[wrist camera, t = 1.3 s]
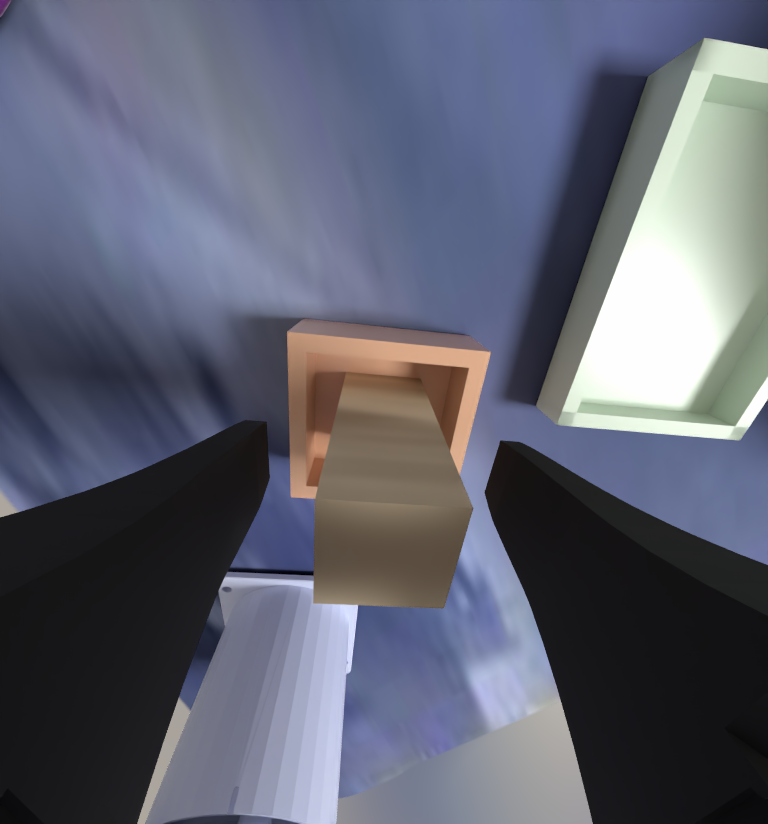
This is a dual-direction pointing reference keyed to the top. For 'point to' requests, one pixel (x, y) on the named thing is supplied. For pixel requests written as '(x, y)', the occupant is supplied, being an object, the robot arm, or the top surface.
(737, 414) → the tray
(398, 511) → the beech pin
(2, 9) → the beverage can
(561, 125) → the top surface
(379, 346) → the orange open box
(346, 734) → the top surface
